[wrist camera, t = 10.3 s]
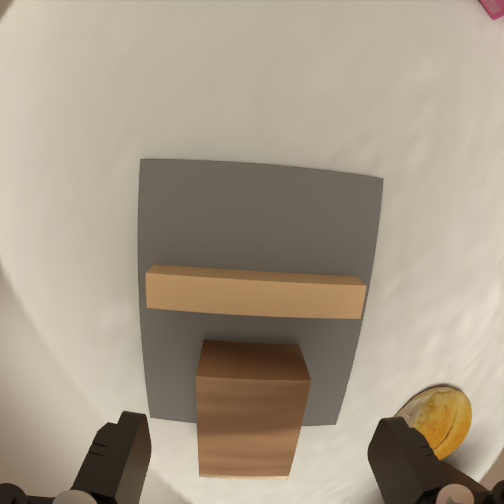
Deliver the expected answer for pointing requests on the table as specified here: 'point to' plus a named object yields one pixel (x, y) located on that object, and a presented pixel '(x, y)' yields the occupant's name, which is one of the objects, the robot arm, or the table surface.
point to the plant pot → (462, 479)
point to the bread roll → (439, 418)
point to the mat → (252, 271)
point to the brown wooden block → (249, 408)
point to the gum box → (494, 8)
